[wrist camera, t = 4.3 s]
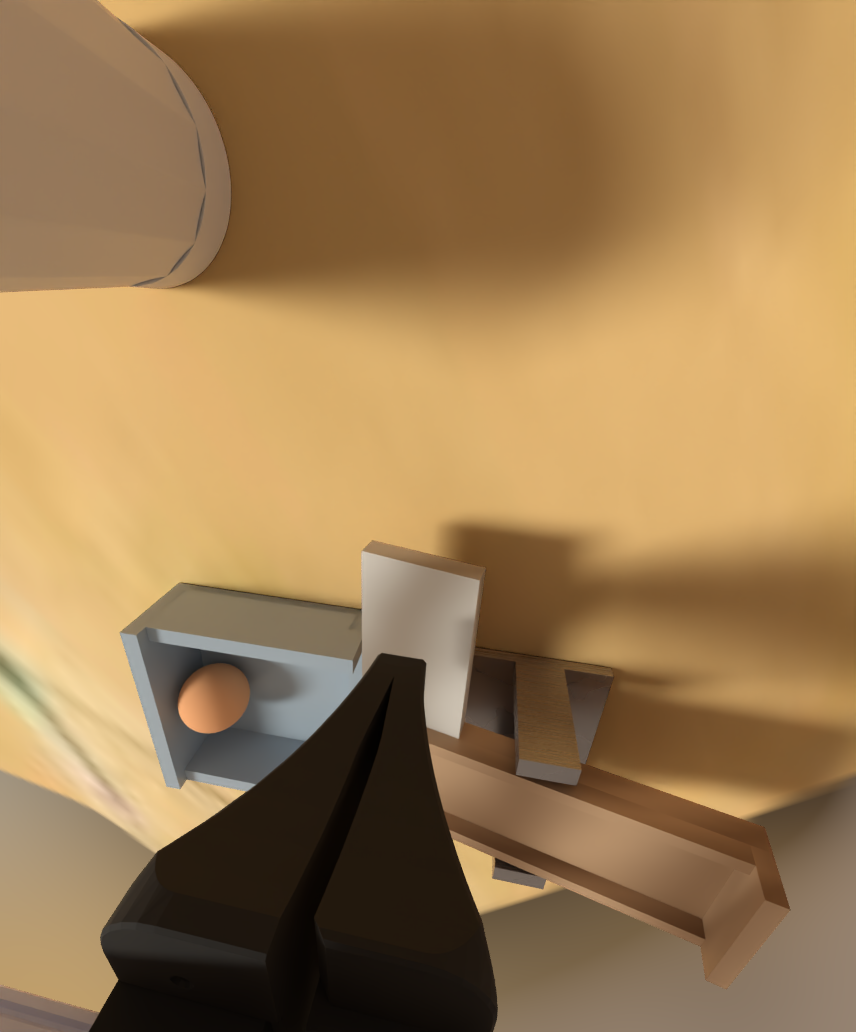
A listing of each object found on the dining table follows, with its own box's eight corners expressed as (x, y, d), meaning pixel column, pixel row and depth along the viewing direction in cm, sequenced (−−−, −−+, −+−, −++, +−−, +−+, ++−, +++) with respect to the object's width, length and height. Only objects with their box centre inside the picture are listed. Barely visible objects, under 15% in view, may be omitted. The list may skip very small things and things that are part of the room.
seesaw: (873, 661, 11) (930, 734, 9) (709, 911, 16) (723, 992, 14) (372, 540, 15) (337, 573, 13) (370, 771, 20) (345, 819, 18)
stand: (611, 667, 19) (645, 781, 14) (576, 778, 22) (595, 900, 17) (469, 646, 19) (459, 748, 15) (454, 756, 22) (442, 868, 18)
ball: (258, 674, 20) (188, 712, 18) (265, 720, 21) (200, 761, 19) (228, 640, 22) (161, 671, 20) (235, 685, 23) (173, 719, 21)
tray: (373, 611, 19) (348, 670, 16) (371, 755, 23) (351, 824, 20) (179, 582, 20) (119, 632, 17) (209, 725, 24) (166, 786, 21)
